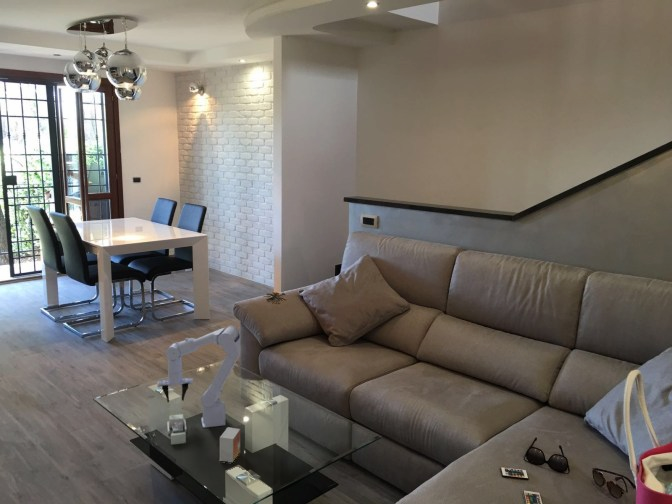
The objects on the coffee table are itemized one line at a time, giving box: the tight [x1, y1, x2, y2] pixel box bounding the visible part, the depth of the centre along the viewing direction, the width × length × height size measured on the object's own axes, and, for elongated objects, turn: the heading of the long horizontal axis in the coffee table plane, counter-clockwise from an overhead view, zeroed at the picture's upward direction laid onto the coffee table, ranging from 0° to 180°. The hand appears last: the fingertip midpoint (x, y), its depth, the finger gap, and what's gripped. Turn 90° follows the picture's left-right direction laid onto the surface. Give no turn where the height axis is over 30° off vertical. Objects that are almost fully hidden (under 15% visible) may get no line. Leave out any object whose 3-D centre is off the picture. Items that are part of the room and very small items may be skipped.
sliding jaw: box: [168, 413, 184, 429], centre depth 238 cm, size 6×4×4 cm, turn 109°
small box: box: [219, 426, 241, 462], centre depth 217 cm, size 8×6×10 cm
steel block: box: [171, 422, 184, 434], centre depth 230 cm, size 4×6×5 cm, turn 19°
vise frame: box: [166, 419, 188, 446], centre depth 233 cm, size 7×16×4 cm, turn 19°
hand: (175, 400), depth 243 cm, fingers open, 5 cm apart
